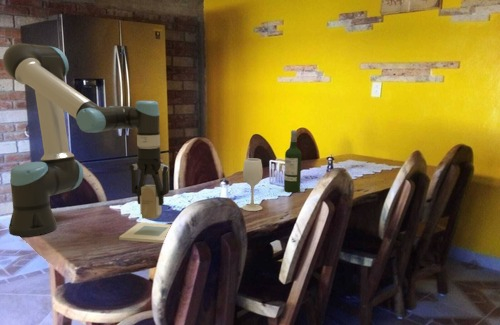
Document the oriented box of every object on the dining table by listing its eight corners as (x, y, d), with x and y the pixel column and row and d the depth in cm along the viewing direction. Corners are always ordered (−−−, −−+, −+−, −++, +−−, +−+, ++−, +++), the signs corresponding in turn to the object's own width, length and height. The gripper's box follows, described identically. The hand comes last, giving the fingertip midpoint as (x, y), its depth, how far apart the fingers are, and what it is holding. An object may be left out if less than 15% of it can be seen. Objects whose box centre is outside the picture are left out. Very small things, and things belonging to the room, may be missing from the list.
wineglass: (257, 204, 191) (258, 157, 188) (265, 210, 183) (266, 160, 180) (239, 206, 188) (239, 158, 184) (246, 212, 180) (247, 161, 176)
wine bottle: (282, 191, 215) (284, 130, 209) (286, 188, 222) (287, 129, 217) (298, 193, 212) (300, 131, 207) (301, 189, 220) (303, 130, 214)
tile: (119, 239, 146) (119, 236, 146) (139, 224, 162) (139, 222, 162) (164, 243, 144) (164, 240, 143) (180, 227, 159) (180, 225, 159)
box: (141, 218, 150) (139, 187, 148) (146, 215, 154) (144, 184, 152) (156, 219, 149) (154, 187, 147) (160, 215, 153) (159, 184, 151)
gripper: (118, 147, 145) (121, 215, 149) (170, 149, 142) (172, 218, 146) (128, 144, 153) (131, 209, 157) (178, 146, 149) (179, 212, 154)
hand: (151, 213), depth 151 cm, fingers closed on box, 5 cm apart
